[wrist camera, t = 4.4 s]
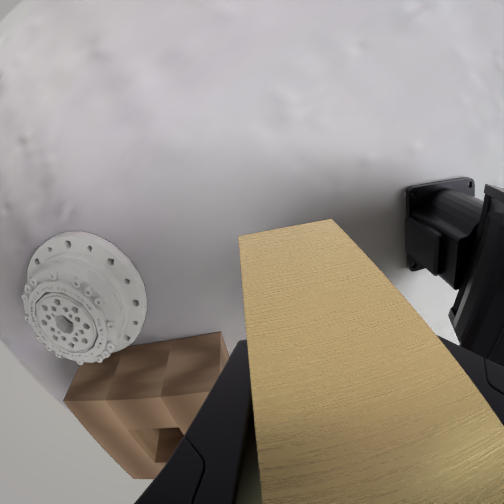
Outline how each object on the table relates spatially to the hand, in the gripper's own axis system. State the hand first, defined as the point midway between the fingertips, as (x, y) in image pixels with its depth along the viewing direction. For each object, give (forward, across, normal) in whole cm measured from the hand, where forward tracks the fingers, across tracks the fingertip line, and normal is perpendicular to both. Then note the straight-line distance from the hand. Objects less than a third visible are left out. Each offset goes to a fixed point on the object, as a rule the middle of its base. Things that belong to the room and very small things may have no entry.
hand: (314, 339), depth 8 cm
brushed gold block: (+3, 0, 0) cm, 3 cm away
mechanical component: (+14, +14, +4) cm, 20 cm away
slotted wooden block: (+13, +11, +15) cm, 22 cm away
